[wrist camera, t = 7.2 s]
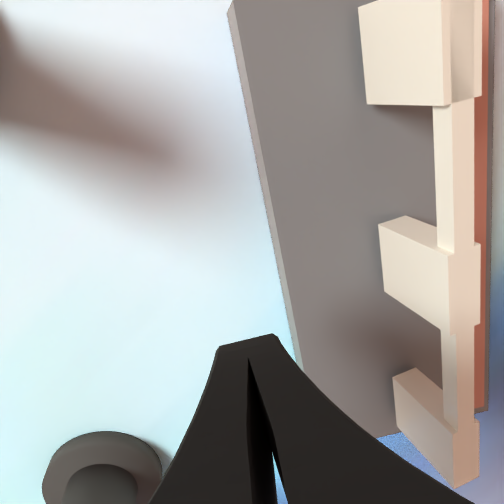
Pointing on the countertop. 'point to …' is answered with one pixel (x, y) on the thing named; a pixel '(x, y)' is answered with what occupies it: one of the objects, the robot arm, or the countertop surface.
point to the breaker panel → (350, 198)
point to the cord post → (102, 471)
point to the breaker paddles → (447, 211)
